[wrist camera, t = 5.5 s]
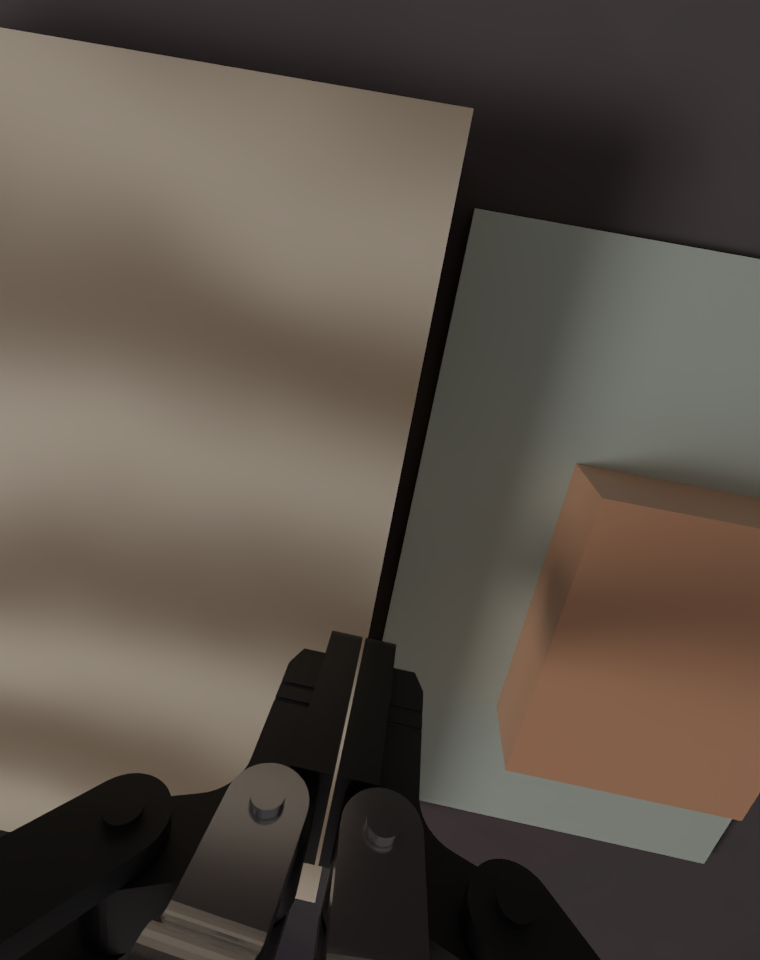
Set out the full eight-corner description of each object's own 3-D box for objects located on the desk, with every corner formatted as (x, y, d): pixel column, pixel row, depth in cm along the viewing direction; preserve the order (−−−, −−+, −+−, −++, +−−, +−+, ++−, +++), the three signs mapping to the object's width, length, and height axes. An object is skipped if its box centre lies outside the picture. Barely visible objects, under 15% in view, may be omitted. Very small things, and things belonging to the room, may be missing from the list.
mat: (473, 210, 13) (475, 208, 12) (1033, 310, 12) (1051, 311, 12) (353, 775, 20) (351, 785, 20) (699, 852, 20) (704, 863, 19)
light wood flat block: (-87, 64, 13) (-298, -24, 9) (463, 160, 12) (473, 108, 9) (3, 715, 21) (-90, 808, 17) (337, 790, 21) (314, 902, 17)
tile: (908, 557, 12) (830, 511, 14) (602, 497, 12) (576, 463, 14) (741, 820, 15) (701, 749, 17) (505, 770, 15) (496, 706, 18)
